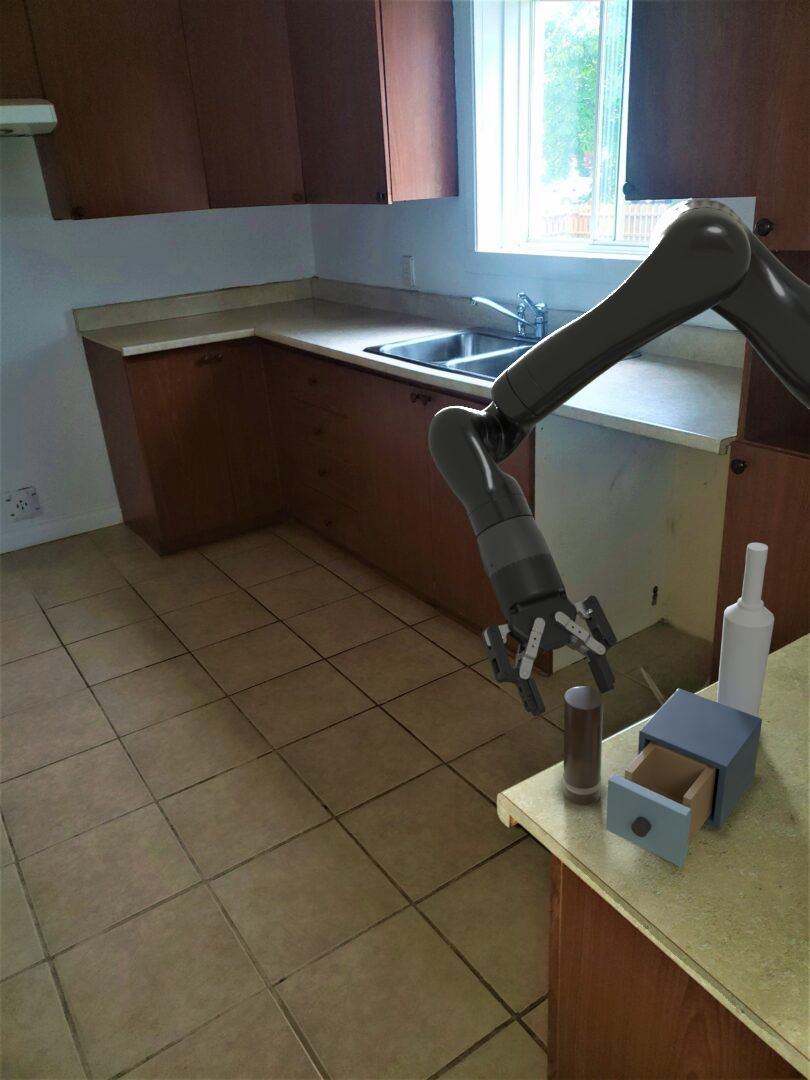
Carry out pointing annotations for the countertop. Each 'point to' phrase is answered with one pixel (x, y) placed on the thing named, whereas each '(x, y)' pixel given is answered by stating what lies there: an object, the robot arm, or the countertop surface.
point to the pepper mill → (582, 745)
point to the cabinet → (709, 744)
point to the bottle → (746, 639)
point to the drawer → (661, 801)
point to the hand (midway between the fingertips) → (574, 702)
